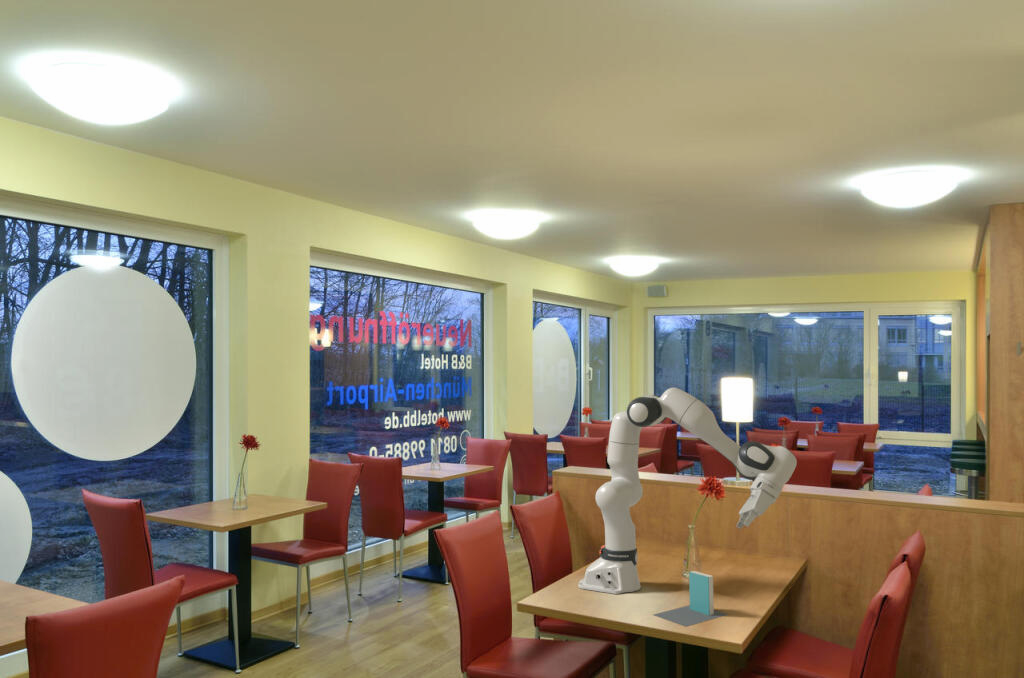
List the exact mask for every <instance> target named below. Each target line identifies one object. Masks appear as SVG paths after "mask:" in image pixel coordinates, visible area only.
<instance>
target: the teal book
mask: <svg viewBox="0 0 1024 678" xmlns="http://www.w3.org/2000/svg"><path fill="white" fill-rule="evenodd" d="M688 573H689V574H688V577H689V605H690V609H691V610H694V611H697V612H700V613H703V614H706V615H712V614H714V610H715V609H714V607H715V606H714V605H715V604H714V576H713V575H711V574H707V573H703V572H701V571H696V570H691V571H689V572H688Z"/></svg>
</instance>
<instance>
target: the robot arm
mask: <svg viewBox="0 0 1024 678" xmlns="http://www.w3.org/2000/svg"><path fill="white" fill-rule="evenodd" d="M667 418H668V419H670V420H672V421H673V422H675V423H676V424H678V425H679V426H681V428H683V429H685V430H687V431H688V432H689V433H690V434H693V435H694V436H696V437H698V438H699V439H700V440H701V441H703V442H705V443H707V444H708V445H709V446H710V447H711V448H713V449H714V450H715V451H716V452H718V453H719V454H720V455H722V456H723V457H724V458H725V459H726V460H728V461H729V462H730V463H731V464H732V465H733V466H734V468H735V470H736V472H737V473H738V474H739V475H740V476H741V477H742V478H743V479H745V480H749V481H753V482H752V483H751V485H750V486H749V490H750V492H751V493H750V495H749V497H748V498H747V500H746V501H745V502H744V504H743V506H742V507H741V508H740V510H739V512H738V515H739V519H738V522H737V524H736V526H735V527H737V528H738V529H743V527H744V526H745V527H750V525H751V523H753V521H754V520H755V519H756V518H757V517H759V516H762V515H764V513H765V512H766V511H767V510H768V509H769V507H771V505H773V504H775V503H776V501H777V499H778V498H779V497H780V494H781V492H782V491H783V488H784V486H785V484H786V483H788V482H789V481H790V478H792V475H793V473H794V471H795V469H796V467H797V464H798V462H797V457H796V455H794V453H793V451H791V450H790V449H788V448H787V447H785V446H783V445H779V446H774V445H773V446H772V445H767V444H763V443H760V442H758V441H755V440H750V441H747V442H744V443H743V444H742V445H739V444H738V443H737V442H735V440H733V439H731V438H730V436H727V435H726V434H725V433H724V432H723V430H722V429H721V427H720V426H719V423H718V421H717V418H716V417H715V414H714V412H713V411H712V410H711V409H710V408H709V406H707V405H706V404H705V403H704V402H702V401H701V400H699V399H698V398H697V397H694V396H693V395H692V394H690V393H688V392H686V391H684V390H683V389H680V388H677V387H669V388H667V389H666V390H665V391H664V392H663V393H662V395H661V396H660V395H655V394H652V395H651V394H649V395H643V396H639V397H636V398H634V399H632V400H631V401H630V402H629V403H628V405H627V408H626V410H623V411H619V412H617V413H615V414H614V415H613V417H612V421H611V424H610V429H609V435H608V444H607V445H608V446H607V448H608V449H607V459H606V460H607V464H608V465H609V468H610V474H611V475H610V476H611V480H610V481H609V480H608V481H607V482H604V483H603V484H602V485H601V486H600V487H599V488H598V489H597V490H596V492H595V497H594V499H595V503H596V505H597V507H598V508H599V509H600V511H601V515H602V518H603V522H604V523H603V524H604V525H603V526H604V541H605V542H604V543H605V544H604V545H602V546H601V547H600V549H599V558H597V559H595V560H594V561H593V562H591V564H590V565H588V567H587V568H586V570H585V573H584V577H583V578H582V579H580V580H579V581H578V584H577V585H578V588H579V589H582V590H587V591H588V590H589V591H595V592H601V593H607V594H613V595H619V594H624V593H632V592H636V591H639V590H641V588H642V586H641V582H640V579H639V574H638V573H639V572H638V567H637V566H638V565H637V564H638V549H637V543H636V542H637V541H636V537H637V535H636V534H637V533H636V525H635V523H634V522H633V520H632V517H631V511H630V508H631V507H633V506H635V505H637V503H638V502H639V501H640V500H641V499H642V497H643V493H644V489H643V485H642V483H641V482H640V481H641V480H640V474H639V464H638V463H639V449H640V436H641V431H642V429H643V428H646V427H647V428H649V427H655V426H656V425H658V424H661V423H663V422H664V421H665V420H666V419H667Z"/></svg>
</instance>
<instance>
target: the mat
mask: <svg viewBox="0 0 1024 678" xmlns="http://www.w3.org/2000/svg"><path fill="white" fill-rule="evenodd" d="M728 615H730V614H729V613H726V612H723V611H719V610H717V609H714V614H712V615H706V614H703V613H700V612H697V611H694V610H691V609H690V604H688V605H685V606H681V607H677V608H673V609H669V610H666V611H662V612H657V613H654V614H653V616H654V617H657V618H660V619H663V620H666V621H667V622H672V623H673V624H677V625H680V626H682V627H687V628H688V627H690V626H693V625H694V626H695V625H698V624H701V623H704V622H708V621H710V620H714V619H715V620H716V619H718V618H721V617H725V616H728Z"/></svg>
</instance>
